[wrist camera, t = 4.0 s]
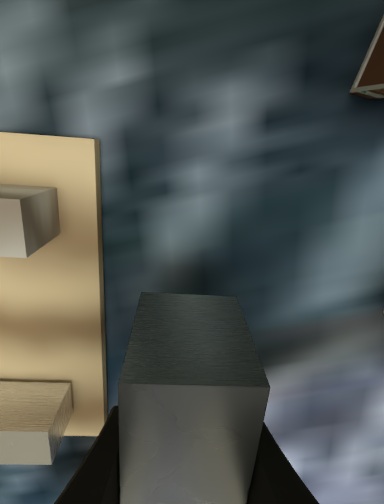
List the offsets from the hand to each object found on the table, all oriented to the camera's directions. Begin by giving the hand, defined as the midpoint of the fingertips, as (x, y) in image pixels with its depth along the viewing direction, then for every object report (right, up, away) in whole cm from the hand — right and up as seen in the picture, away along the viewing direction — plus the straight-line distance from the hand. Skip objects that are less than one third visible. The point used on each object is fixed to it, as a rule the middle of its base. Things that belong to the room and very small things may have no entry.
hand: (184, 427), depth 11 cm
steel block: (0, +1, +3) cm, 3 cm away
